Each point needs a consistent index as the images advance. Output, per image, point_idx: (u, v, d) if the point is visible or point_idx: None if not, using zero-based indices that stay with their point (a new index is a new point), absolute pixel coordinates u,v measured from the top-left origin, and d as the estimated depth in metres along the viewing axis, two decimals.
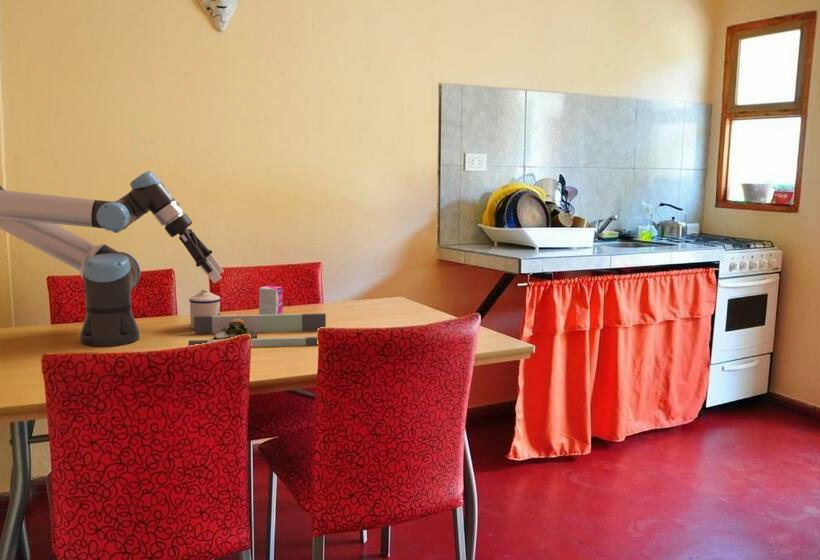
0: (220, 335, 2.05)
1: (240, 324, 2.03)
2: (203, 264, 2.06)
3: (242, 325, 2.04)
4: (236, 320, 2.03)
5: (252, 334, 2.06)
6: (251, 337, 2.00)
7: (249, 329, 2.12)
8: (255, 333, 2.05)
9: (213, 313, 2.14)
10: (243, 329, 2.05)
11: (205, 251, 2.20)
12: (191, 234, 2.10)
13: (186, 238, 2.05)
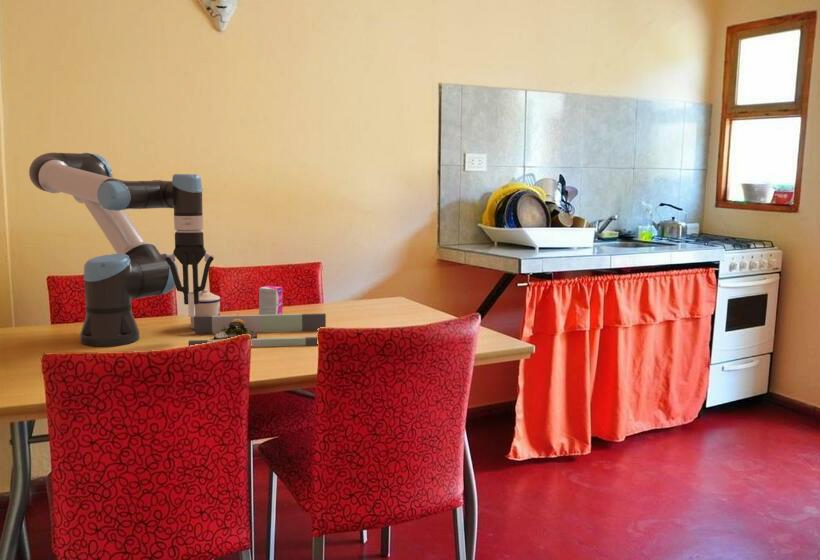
0: (220, 335, 2.05)
1: (240, 324, 2.03)
2: (184, 293, 1.99)
3: (242, 325, 2.04)
4: (236, 320, 2.03)
5: (252, 334, 2.06)
6: (251, 337, 2.00)
7: (249, 329, 2.12)
8: (255, 333, 2.05)
9: (213, 313, 2.14)
10: (243, 329, 2.05)
11: (193, 284, 1.98)
12: (182, 256, 1.95)
13: None
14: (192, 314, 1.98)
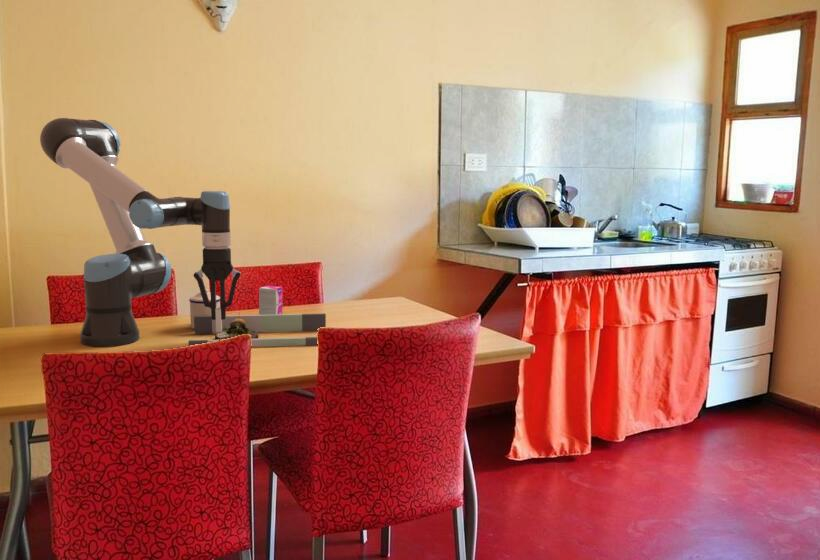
0: (221, 335, 2.05)
1: (241, 324, 2.03)
2: (211, 308, 2.01)
3: (243, 325, 2.04)
4: (237, 320, 2.03)
5: (253, 334, 2.06)
6: (252, 337, 2.00)
7: (249, 329, 2.12)
8: (256, 333, 2.05)
9: None
10: (244, 329, 2.05)
11: None
12: (210, 272, 1.97)
13: None
14: (219, 329, 2.01)
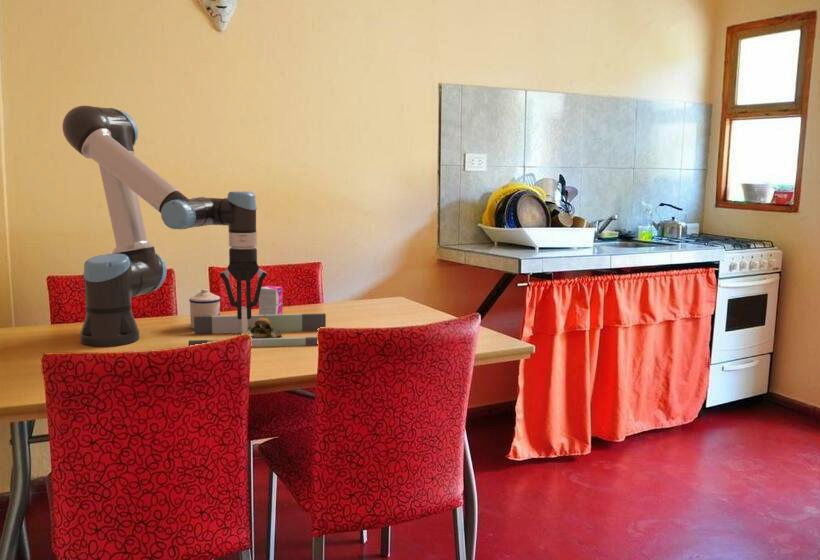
0: (247, 333, 2.07)
1: (265, 323, 2.04)
2: (237, 308, 2.02)
3: (267, 324, 2.04)
4: (261, 319, 2.04)
5: (278, 334, 2.06)
6: (273, 337, 2.00)
7: None
8: (280, 333, 2.05)
9: (213, 313, 2.14)
10: (269, 328, 2.06)
11: None
12: (236, 272, 1.99)
13: (222, 278, 2.00)
14: (245, 329, 2.02)
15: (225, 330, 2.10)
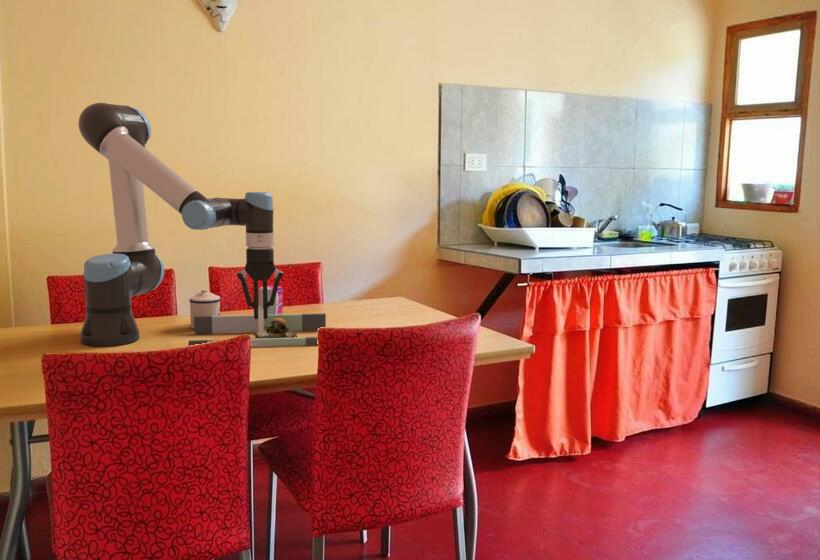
0: (264, 333, 2.08)
1: (281, 323, 2.04)
2: None
3: (283, 325, 2.05)
4: (276, 319, 2.04)
5: (293, 334, 2.06)
6: (286, 337, 2.00)
7: (249, 329, 2.12)
8: (295, 334, 2.05)
9: (213, 313, 2.14)
10: (285, 329, 2.06)
11: (263, 299, 2.02)
12: (253, 272, 2.00)
13: (239, 278, 2.00)
14: (261, 328, 2.03)
15: (225, 330, 2.10)
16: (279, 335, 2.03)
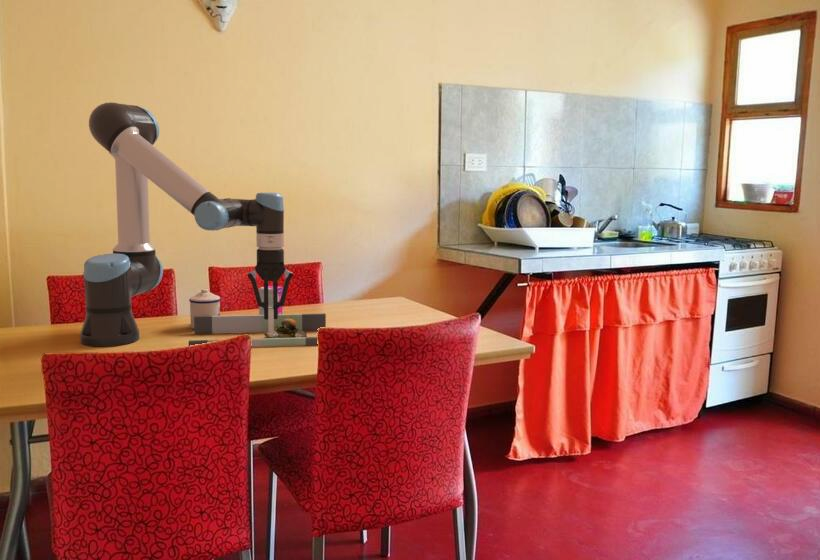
0: (276, 333, 2.09)
1: (290, 324, 2.05)
2: None
3: (292, 325, 2.05)
4: (286, 320, 2.05)
5: (303, 335, 2.06)
6: None
7: (249, 329, 2.12)
8: (304, 335, 2.05)
9: (213, 313, 2.14)
10: (295, 329, 2.06)
11: (273, 299, 2.03)
12: (263, 272, 2.00)
13: None
14: (272, 329, 2.04)
15: (225, 330, 2.10)
16: (288, 336, 2.03)
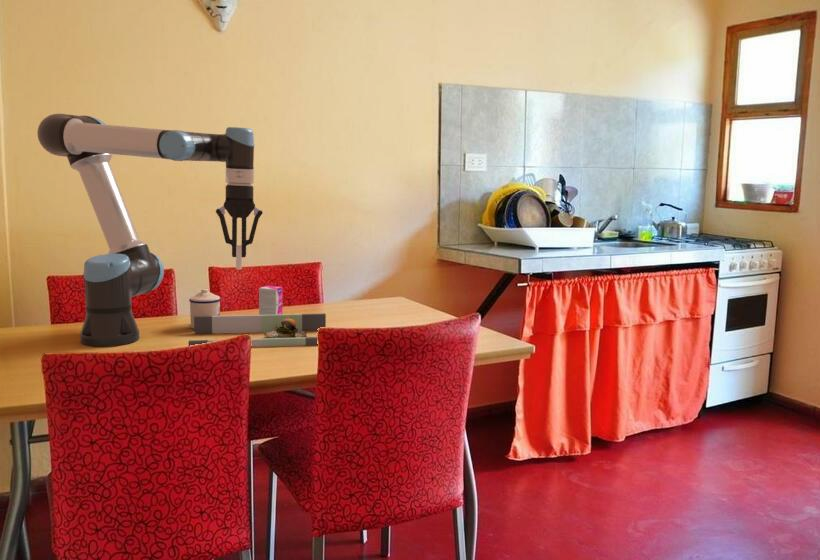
0: (276, 333, 2.09)
1: (290, 324, 2.05)
2: (232, 246, 2.01)
3: (292, 325, 2.05)
4: (286, 319, 2.05)
5: (303, 335, 2.06)
6: None
7: (249, 329, 2.12)
8: (304, 335, 2.05)
9: (213, 313, 2.14)
10: (295, 329, 2.06)
11: None
12: (232, 209, 1.98)
13: (218, 215, 1.99)
14: (239, 267, 2.01)
15: (225, 330, 2.10)
16: (288, 335, 2.03)
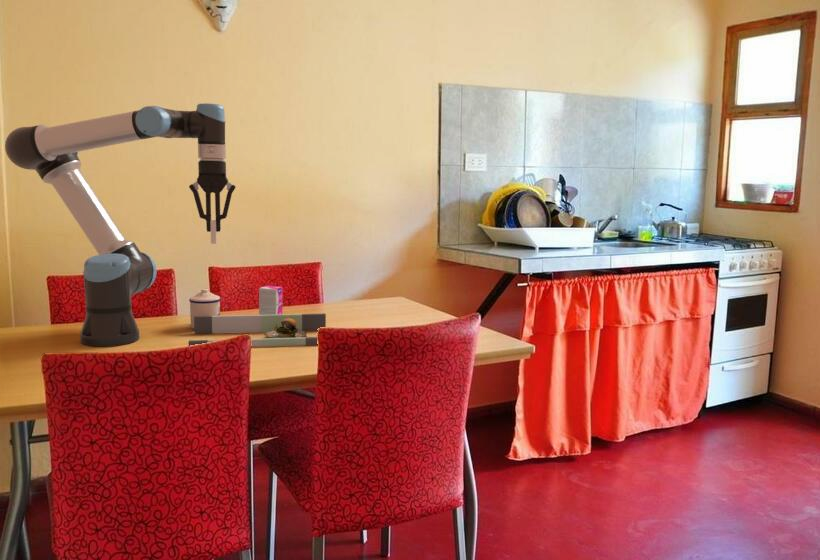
0: (276, 332, 2.09)
1: (290, 324, 2.05)
2: None
3: (292, 325, 2.05)
4: (286, 319, 2.05)
5: (303, 335, 2.06)
6: None
7: (249, 329, 2.12)
8: (304, 335, 2.05)
9: (213, 313, 2.14)
10: (295, 329, 2.06)
11: None
12: (205, 184, 2.02)
13: None
14: (214, 241, 2.05)
15: (225, 330, 2.10)
16: (288, 335, 2.03)
